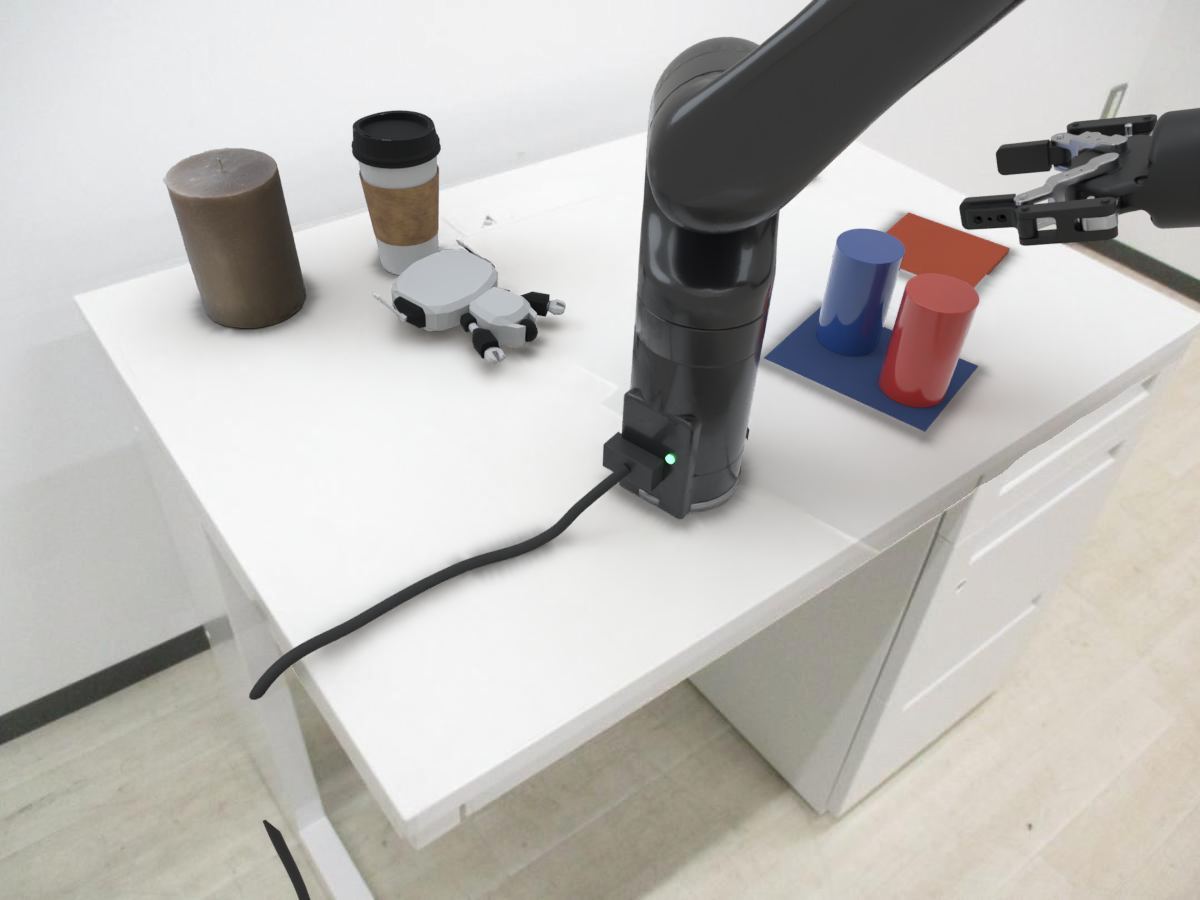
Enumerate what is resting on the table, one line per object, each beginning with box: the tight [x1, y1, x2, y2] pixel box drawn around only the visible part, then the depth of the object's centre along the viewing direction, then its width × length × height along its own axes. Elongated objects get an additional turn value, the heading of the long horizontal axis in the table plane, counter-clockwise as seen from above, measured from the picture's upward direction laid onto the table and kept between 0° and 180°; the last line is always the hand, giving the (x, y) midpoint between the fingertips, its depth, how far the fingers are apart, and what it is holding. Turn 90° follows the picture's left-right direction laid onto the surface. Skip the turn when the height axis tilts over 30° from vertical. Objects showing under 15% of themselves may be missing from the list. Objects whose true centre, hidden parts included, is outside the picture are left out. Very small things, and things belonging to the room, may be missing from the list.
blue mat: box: [763, 306, 979, 433], centre depth 88 cm, size 12×16×1 cm
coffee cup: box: [350, 109, 442, 276], centre depth 94 cm, size 8×8×15 cm
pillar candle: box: [162, 147, 307, 329], centre depth 88 cm, size 10×10×15 cm
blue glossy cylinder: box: [816, 228, 905, 356], centre depth 87 cm, size 6×6×10 cm
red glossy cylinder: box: [878, 273, 980, 408], centre depth 82 cm, size 6×6×10 cm
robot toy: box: [371, 239, 567, 365], centre depth 90 cm, size 12×4×15 cm
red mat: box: [885, 212, 1011, 289], centre depth 103 cm, size 12×12×1 cm
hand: (980, 186), depth 70 cm, fingers open, 8 cm apart
